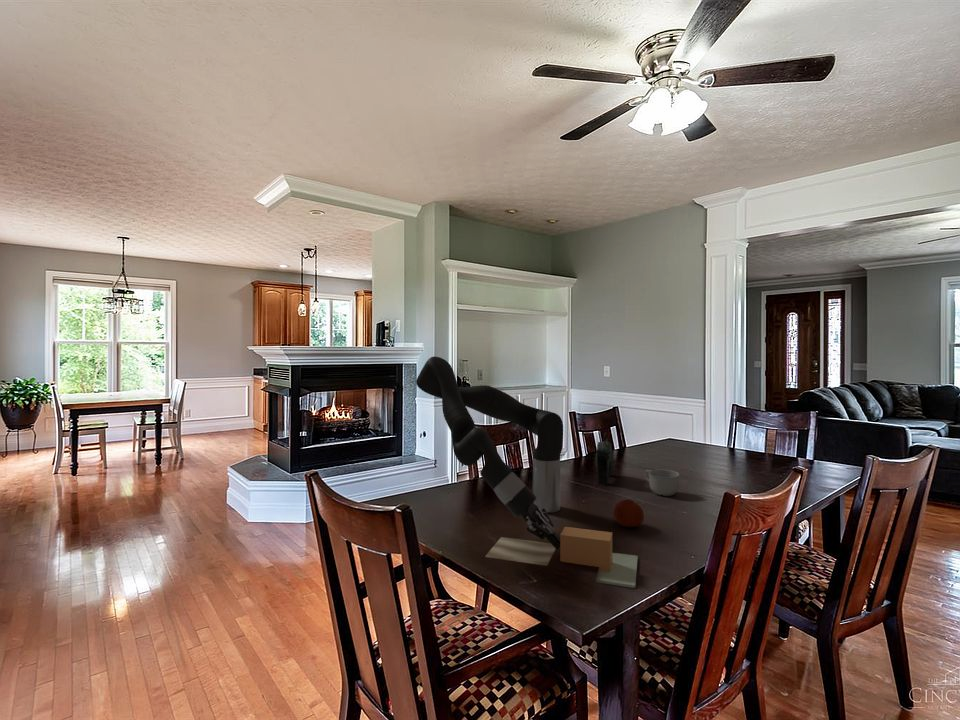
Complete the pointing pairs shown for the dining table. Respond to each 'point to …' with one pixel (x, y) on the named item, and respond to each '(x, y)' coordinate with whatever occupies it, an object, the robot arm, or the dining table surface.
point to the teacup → (663, 481)
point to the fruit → (628, 513)
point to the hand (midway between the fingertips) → (560, 546)
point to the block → (586, 547)
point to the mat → (620, 571)
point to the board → (522, 551)
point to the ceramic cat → (604, 461)
